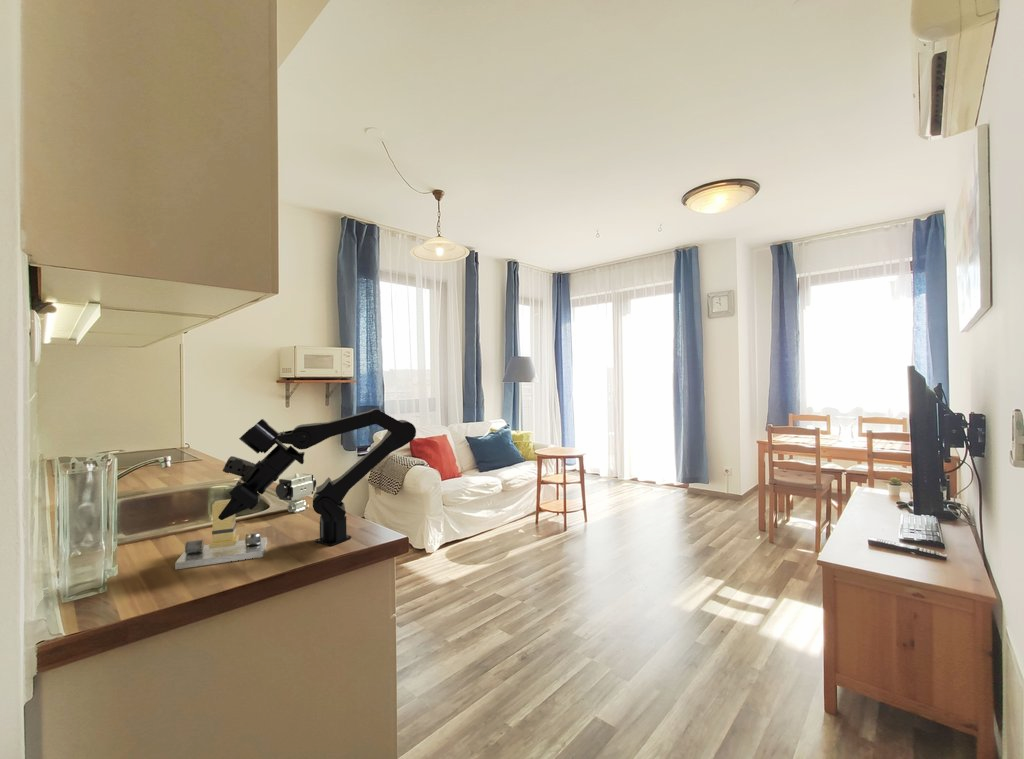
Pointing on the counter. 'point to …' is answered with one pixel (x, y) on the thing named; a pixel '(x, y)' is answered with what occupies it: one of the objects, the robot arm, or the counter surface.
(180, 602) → the counter surface
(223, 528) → the yellow banded block
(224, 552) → the plate
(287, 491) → the pneumatic valve
